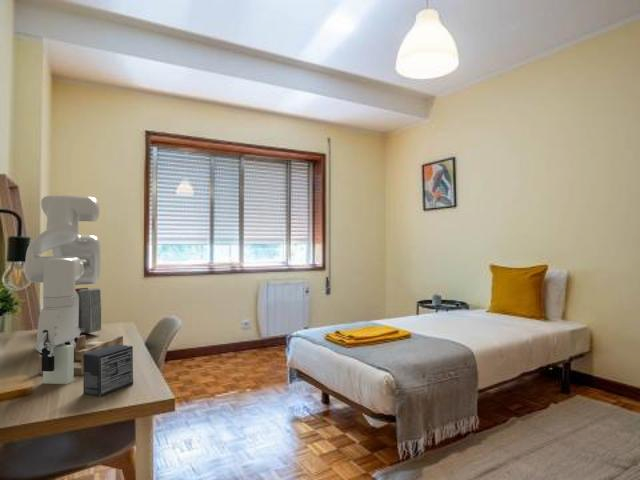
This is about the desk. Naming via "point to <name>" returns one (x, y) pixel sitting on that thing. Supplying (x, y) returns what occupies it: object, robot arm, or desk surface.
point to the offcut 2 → (92, 344)
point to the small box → (107, 370)
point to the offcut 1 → (79, 354)
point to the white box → (61, 366)
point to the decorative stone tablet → (89, 309)
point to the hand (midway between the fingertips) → (58, 366)
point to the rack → (82, 345)
